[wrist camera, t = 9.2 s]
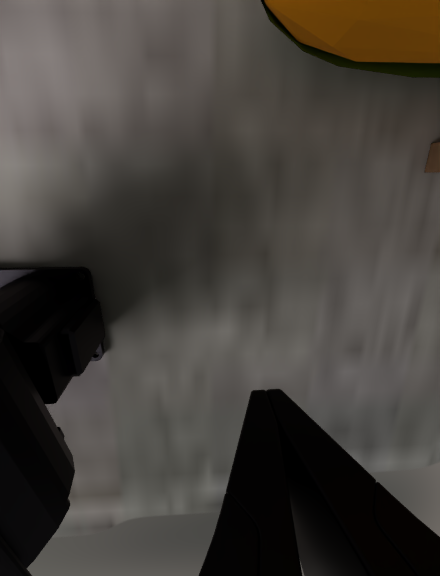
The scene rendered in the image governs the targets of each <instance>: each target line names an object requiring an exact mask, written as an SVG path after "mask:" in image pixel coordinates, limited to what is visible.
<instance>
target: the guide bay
mask: <svg viewBox="0 0 440 576" xmlns="http://www.w3.org/2000/svg"><path fill="white" fill-rule="evenodd" d="M425 172H440V142H439V143H431V147H430V151H429V155H428V160H427V164H426V168H425Z"/></svg>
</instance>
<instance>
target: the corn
mask: <svg viewBox="0 0 440 576" xmlns="http://www.w3.org/2000/svg"><path fill="white" fill-rule="evenodd" d="M261 2H262V4H263V6H264V8H265V11H266V13H267V15H268V17H269V20H270V21H271V22H272V23H273V24H274V25H275V26H276V27H277V28H278V29H279V30H280V31H282V32H283V33H284V34H285V35H286V36H287V37H288V38H289V39H290V40H291V41H293V42H294V43H295V44H296V45H297V46H298V47H299V48H300V49H301V50H302V51H304V52H306V53H309V54H311V55H313V56H316V57H318V58H320V59H323V60H325V61H327V62H330V63H332V64H334V65H337V66H340V67H346V68H353V69H360V70H367V71H373V72H380V73H387V74H394V75H400V76H407V77H433V78H440V0H261Z"/></svg>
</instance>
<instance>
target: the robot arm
mask: <svg viewBox="0 0 440 576" xmlns="http://www.w3.org/2000/svg"><path fill="white" fill-rule="evenodd" d="M79 273H82V274H84V276H85V278H84V279H83V278H81V277H79V275H78V274H79ZM104 337H105V330H104V324H103V319H102V313H101V307H100V302H99V301H98V300H97V299H95V294H94V288H93V282H92V277H91V273H90V271H89V270H88V269H87V268H85V267H39V268H0V576H32V575H31V574H30V572H29V571H28V570H27V569H26V568H27V567H28V566H29V565H30V564H31V563H32V562H33V561H34V560H35V559H36V557H37V556H38V555H39V553H40V552H41V550H42V549H43V548H44V547H45V545H46V544H47V543H48V541H49V540H50V539H51V537H52V536H53V535H54V533H55V532H56V531H57V529H58V528H59V526H60V524H61V522H62V521H63V519H64V517H65V515H66V513H67V511H68V510H69V507H70V501H69V499H68V496H69V494H70V490H71V486H72V482H73V477H74V473H75V469H74V462H73V456H72V454H71V452H70V450H69V448H68V446H67V444H66V443H65V441H64V434H63V432H62V430H61V428H60V427H57V426H56V424H55V422H54V420H53V419H52V417H51V415H50V413H49V411H48V409H47V408H46V406H45V404H54V403H56V402H57V401H58V399H59V398H60V396H61V395H62V393H63V391H64V390H65V388H66V387H67V385H68V384H69V382H70V380H71V379H72V377H74V376H80V375H81V374H82V373H83V372H84V370H85V368H86V367H87V365H88V363H89V362H90V361H98V360H100V359H101V358H102V356H103V355H104V346H103V339H104ZM95 352H98V354H95ZM299 558H300V559H299ZM300 562H301V565H302V568H303V572H304V575H305V576H440V537H439V536H438V535H437V534H436V533H434V532H433V531H432V530H431V529H430V528H428V527H427V526H426V525H425V524H424V523H422V522H421V521H420V520H419V519H418V518H417V517H415V516H414V515H413V514H412V513H411V512H410V511H409V510H408V509H407V508H406V507H404V506H403V505H402V504H401V503H400V502H399V501H398V500H397V499H396V498H395V497H394V496H393V495H391V494H390V493H389V492H388V491H387V490H386V489H385V488H384V487H383V486H382V485H381V484H380V483H379V482H376V480H375V479H374V478H373V477H372V476H371V475H370V474H369V473H368V472H367V471H366V470H365V469H364V468H363V467H362V466H361V465H360V464H359V463H358V462H357V461H356V460H355V459H353V458H352V457H351V456H350V455H349V454H348V453H347V452H346V451H345V450H344V449H343V448H342V447H341V446H340V445H339V444H338V443H337V442H336V441H335V440H333V439H332V438H331V437H330V436H329V435H328V434H327V433H326V432H325V431H324V430H323V429H322V428H321V427H320V426H319V425H318V424H317V423H316V422H315V421H314V420H312V419H311V418H310V417H309V416H308V415H307V414H306V413H305V412H304V411H303V410H302V409H301V408H300V407H299V406H298V405H297V404H296V403H295V402H294V401H292V400H291V399H290V398H289V397H288V396H287V395H286V394H285V393H284V392H283V391H282V390H280V389H268V390H267V391H265V390H253V391H252V392H251V395H250V399H249V403H248V407H247V410H246V414H245V418H244V422H243V426H242V430H241V434H240V438H239V442H238V446H237V450H236V454H235V458H234V462H233V466H232V470H231V473H230V477H229V481H228V485H227V489H226V494H225V496H224V500H223V504H222V508H221V512H220V515H219V519H218V522H217V526H216V529H215V532H214V535H213V538H212V541H211V544H210V547H209V549H208V552H207V555H206V558H205V561H204V563H203V566H202V569H201V571H200V573H199V576H302V572H301V565H300Z"/></svg>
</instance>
